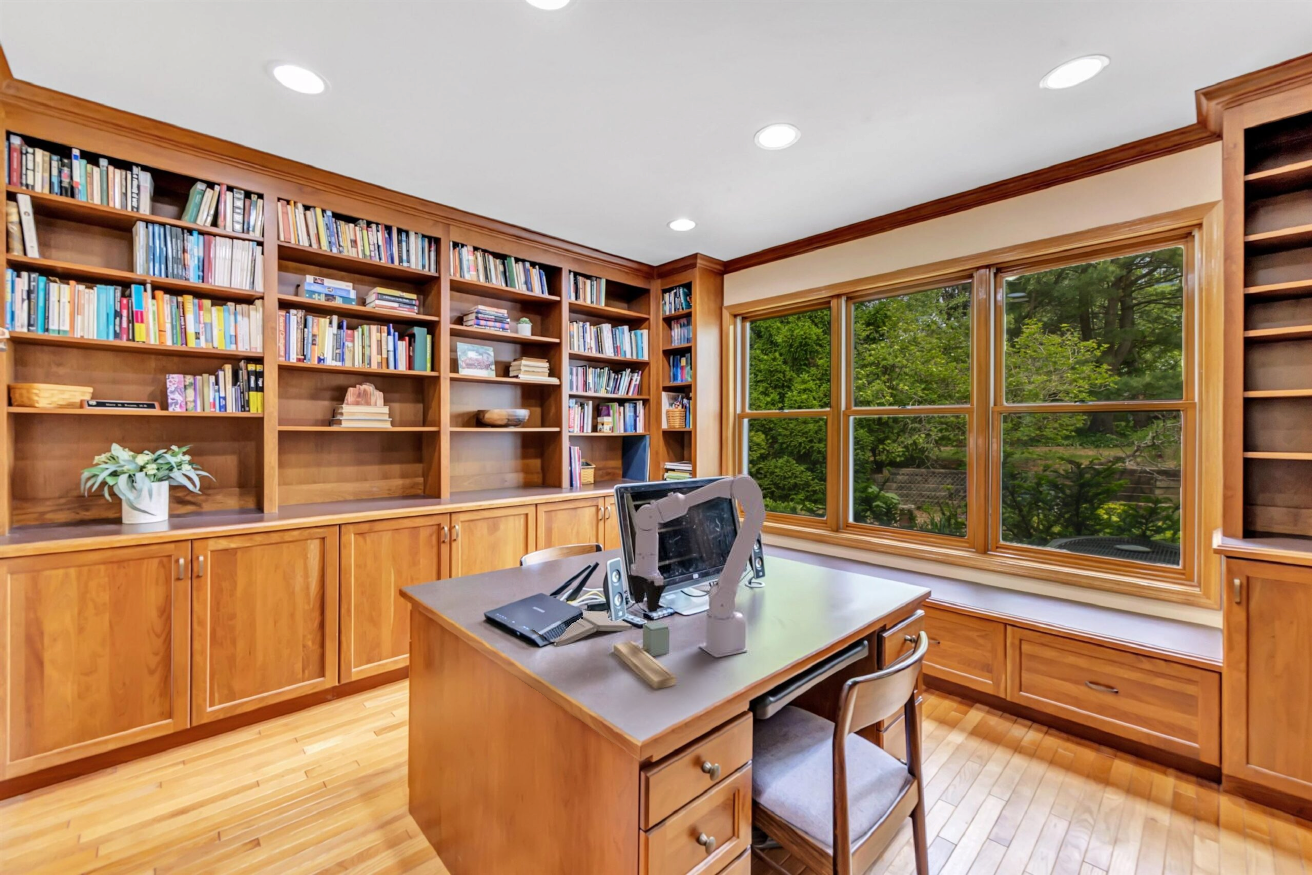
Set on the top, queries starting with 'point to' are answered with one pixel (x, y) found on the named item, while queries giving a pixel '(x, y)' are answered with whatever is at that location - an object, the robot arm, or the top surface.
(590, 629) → the gadget
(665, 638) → the green box with tab
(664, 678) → the plank
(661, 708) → the top surface
